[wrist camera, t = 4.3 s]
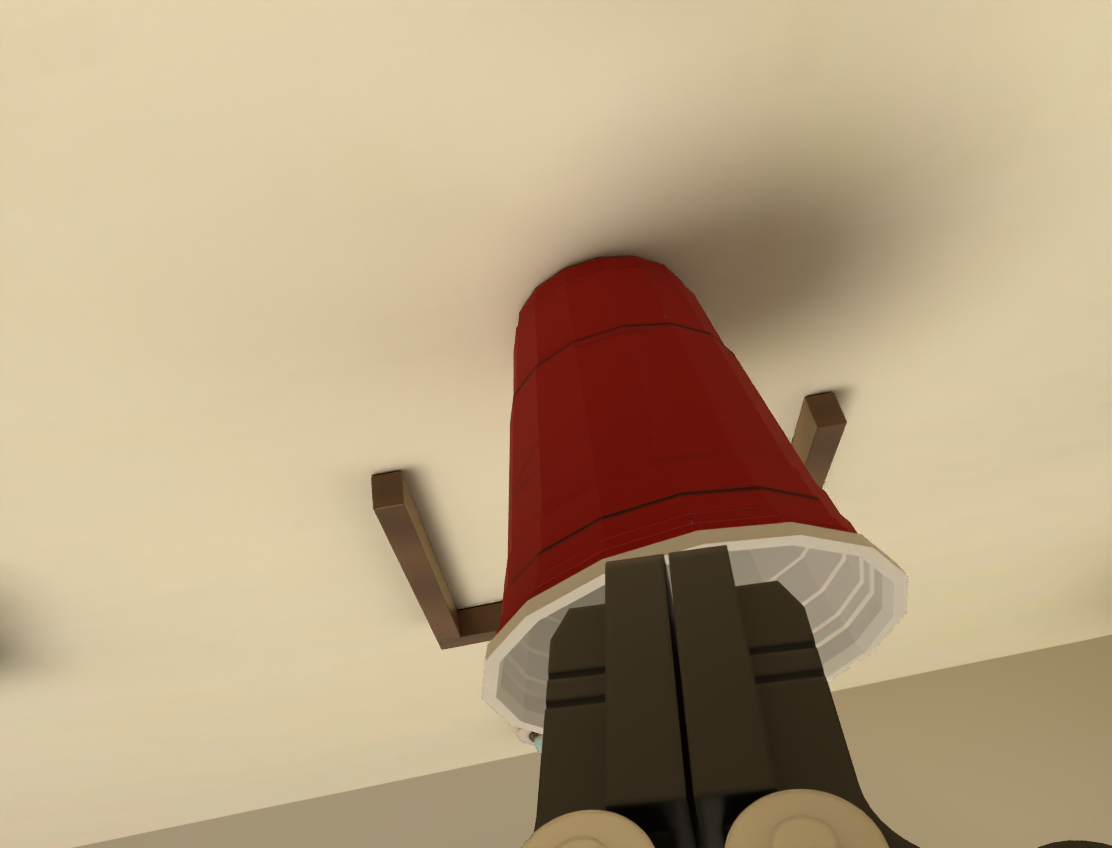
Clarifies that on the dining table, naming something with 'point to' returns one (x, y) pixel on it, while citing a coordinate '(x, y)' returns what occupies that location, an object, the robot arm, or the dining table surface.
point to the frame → (480, 624)
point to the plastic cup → (657, 476)
